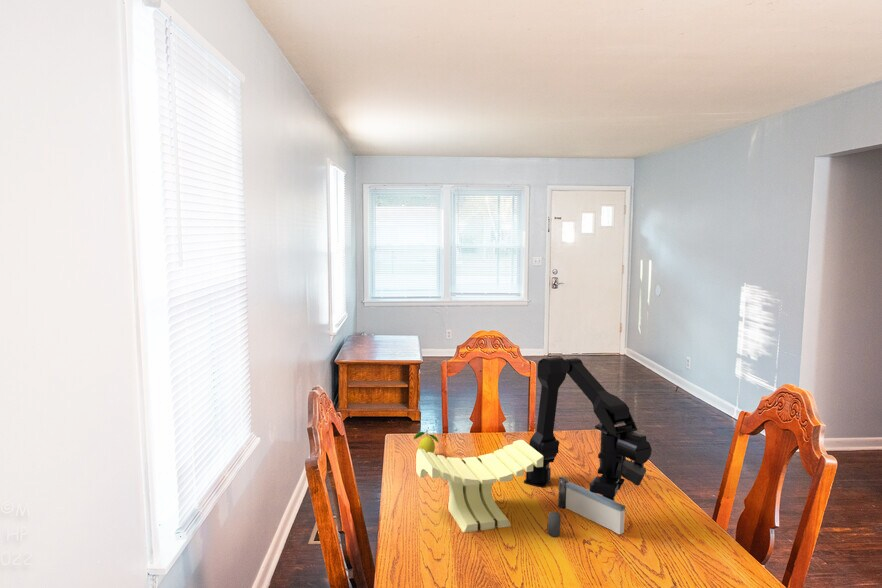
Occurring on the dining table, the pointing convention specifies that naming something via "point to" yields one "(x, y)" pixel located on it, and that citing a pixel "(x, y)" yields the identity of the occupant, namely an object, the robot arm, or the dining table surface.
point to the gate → (595, 507)
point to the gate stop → (554, 524)
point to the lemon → (426, 442)
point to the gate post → (562, 492)
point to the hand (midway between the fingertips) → (609, 506)
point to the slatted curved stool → (478, 481)
